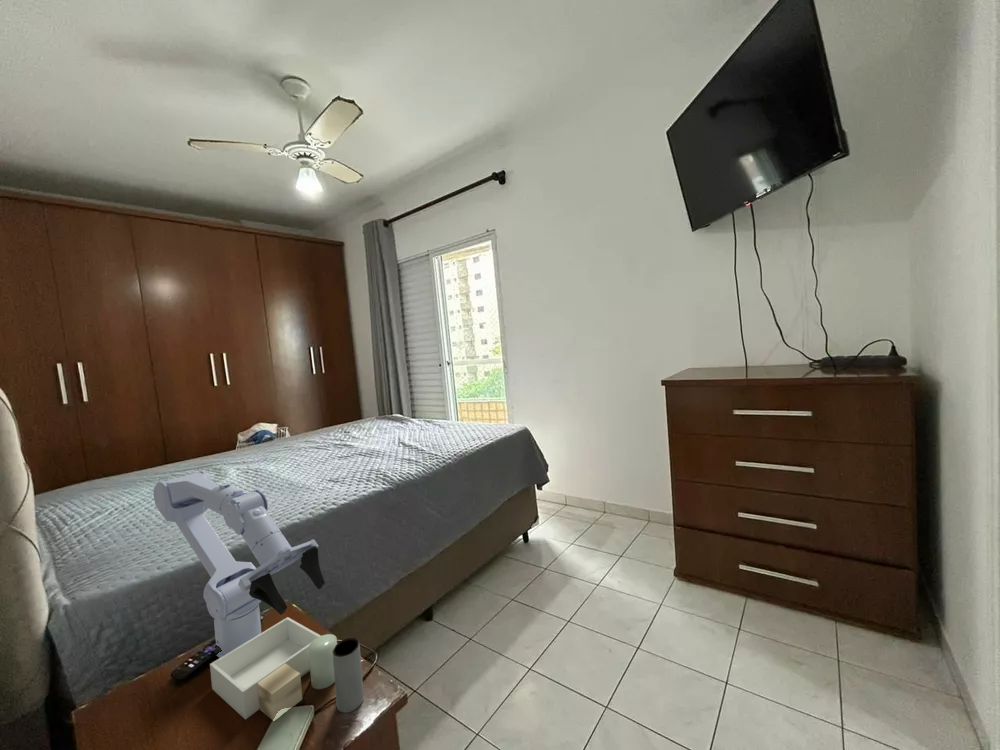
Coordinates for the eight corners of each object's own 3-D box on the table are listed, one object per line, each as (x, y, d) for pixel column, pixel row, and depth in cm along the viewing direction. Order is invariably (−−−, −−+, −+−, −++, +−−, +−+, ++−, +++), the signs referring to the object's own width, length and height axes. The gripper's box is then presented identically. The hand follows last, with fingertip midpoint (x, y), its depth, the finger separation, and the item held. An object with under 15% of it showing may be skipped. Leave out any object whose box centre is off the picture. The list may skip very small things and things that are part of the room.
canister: (305, 682, 74) (302, 647, 74) (329, 664, 79) (326, 631, 78) (321, 693, 72) (318, 656, 71) (344, 673, 76) (342, 639, 76)
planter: (354, 714, 67) (350, 657, 66) (331, 711, 68) (326, 655, 67) (368, 692, 71) (364, 638, 71) (346, 689, 72) (342, 636, 72)
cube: (259, 709, 69) (257, 682, 69) (287, 688, 73) (285, 663, 73) (274, 722, 66) (271, 694, 66) (302, 699, 71) (300, 673, 70)
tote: (212, 689, 74) (209, 664, 74) (289, 638, 87) (287, 617, 86) (245, 719, 67) (242, 692, 67) (324, 659, 80) (322, 636, 80)
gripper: (232, 549, 70) (270, 612, 65) (306, 514, 82) (343, 565, 78) (224, 571, 73) (260, 632, 68) (297, 533, 85) (332, 583, 81)
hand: (303, 598), depth 73 cm, fingers open, 7 cm apart
